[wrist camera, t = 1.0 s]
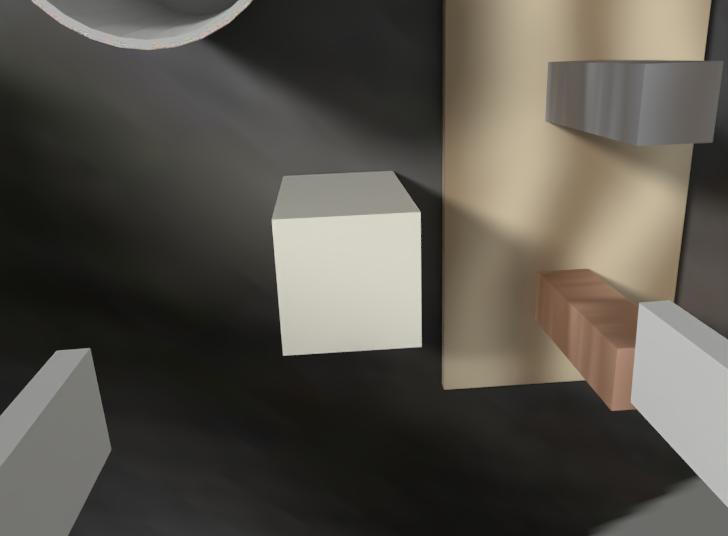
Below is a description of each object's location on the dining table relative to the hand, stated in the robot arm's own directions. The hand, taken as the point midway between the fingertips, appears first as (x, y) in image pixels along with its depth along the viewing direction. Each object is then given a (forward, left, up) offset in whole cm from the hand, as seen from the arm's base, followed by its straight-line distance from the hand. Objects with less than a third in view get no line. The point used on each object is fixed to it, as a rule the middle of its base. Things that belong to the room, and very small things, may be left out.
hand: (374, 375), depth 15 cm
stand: (+11, 0, -17) cm, 20 cm away
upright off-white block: (0, -1, -17) cm, 17 cm away
